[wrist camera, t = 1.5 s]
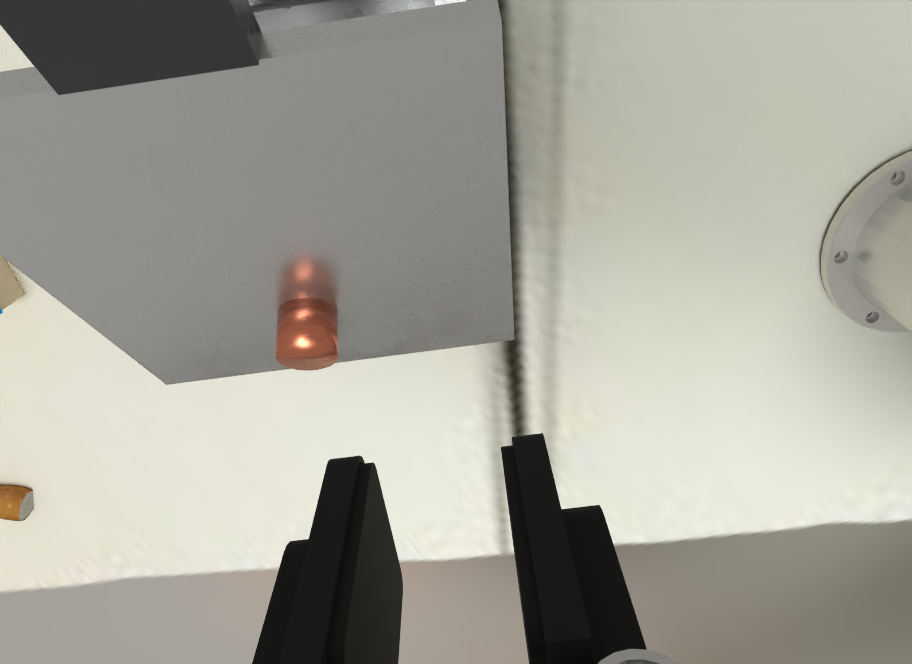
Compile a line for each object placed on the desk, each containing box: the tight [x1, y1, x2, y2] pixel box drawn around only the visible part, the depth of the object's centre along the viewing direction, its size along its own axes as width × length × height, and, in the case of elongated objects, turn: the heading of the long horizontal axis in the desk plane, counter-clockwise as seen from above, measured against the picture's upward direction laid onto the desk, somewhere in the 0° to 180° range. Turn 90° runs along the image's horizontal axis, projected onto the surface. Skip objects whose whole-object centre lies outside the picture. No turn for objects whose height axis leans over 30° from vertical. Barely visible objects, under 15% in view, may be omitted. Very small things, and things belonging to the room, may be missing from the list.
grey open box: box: [248, 0, 466, 32], centre depth 33 cm, size 20×16×12 cm
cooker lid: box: [0, 0, 514, 385], centre depth 21 cm, size 17×21×3 cm
